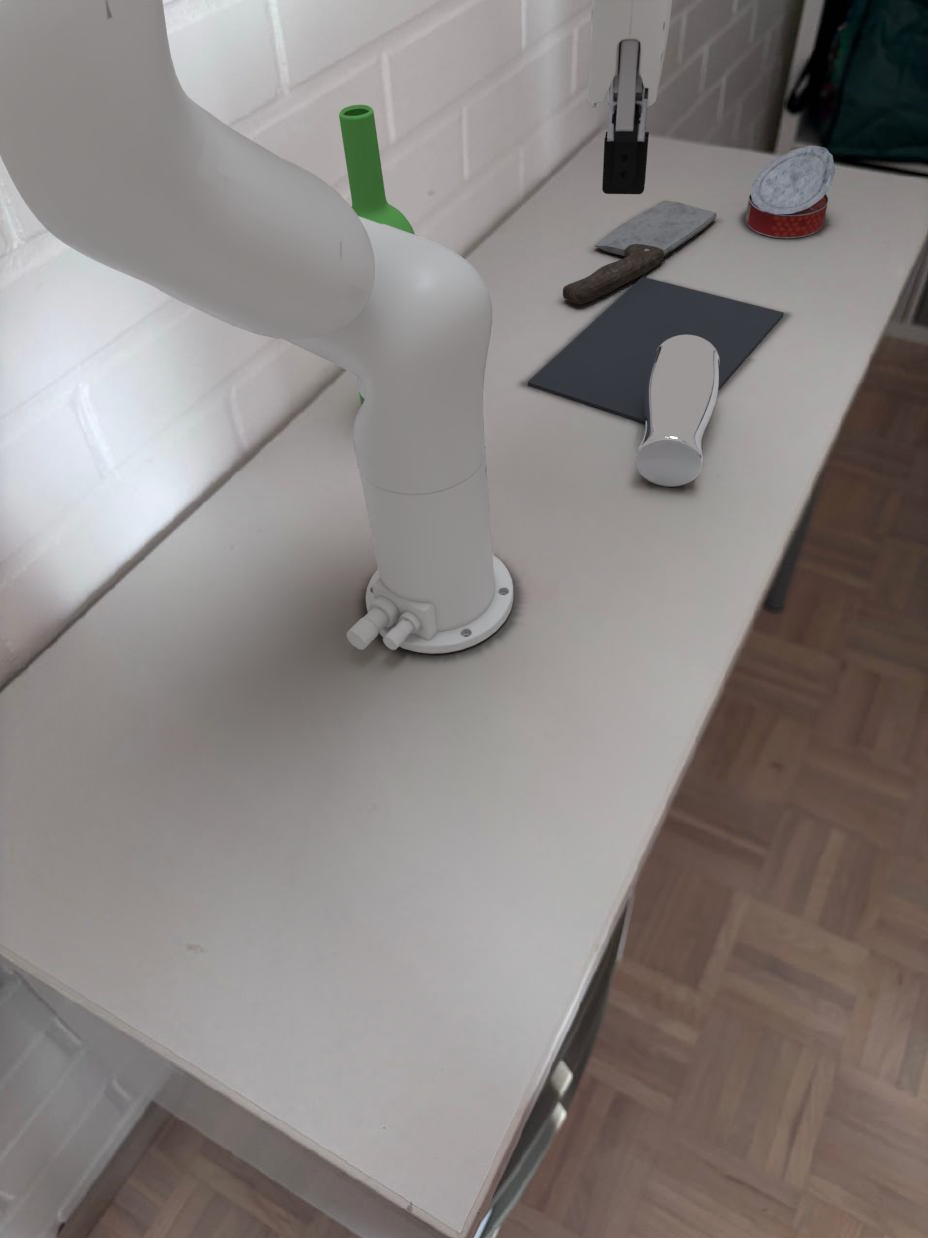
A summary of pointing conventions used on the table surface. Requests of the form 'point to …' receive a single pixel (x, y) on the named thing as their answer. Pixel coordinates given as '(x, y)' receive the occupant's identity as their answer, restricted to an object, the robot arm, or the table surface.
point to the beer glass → (678, 410)
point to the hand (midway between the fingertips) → (623, 189)
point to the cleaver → (640, 247)
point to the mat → (649, 343)
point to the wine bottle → (367, 174)
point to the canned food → (791, 194)
